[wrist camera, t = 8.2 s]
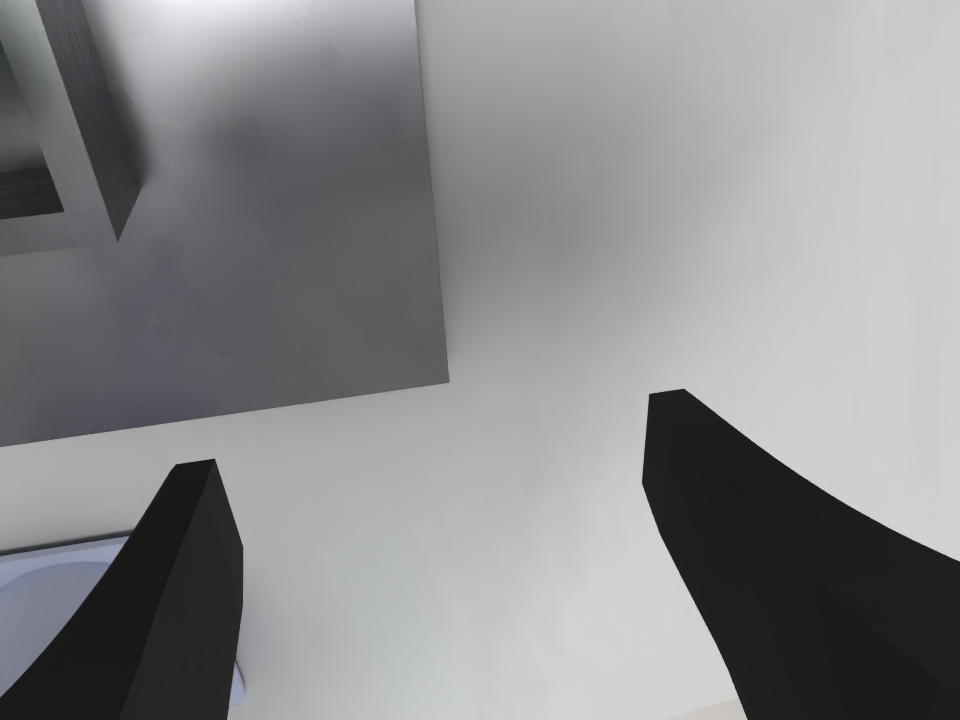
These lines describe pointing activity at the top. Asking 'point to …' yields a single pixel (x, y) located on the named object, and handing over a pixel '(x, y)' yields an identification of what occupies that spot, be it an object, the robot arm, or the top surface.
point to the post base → (210, 210)
